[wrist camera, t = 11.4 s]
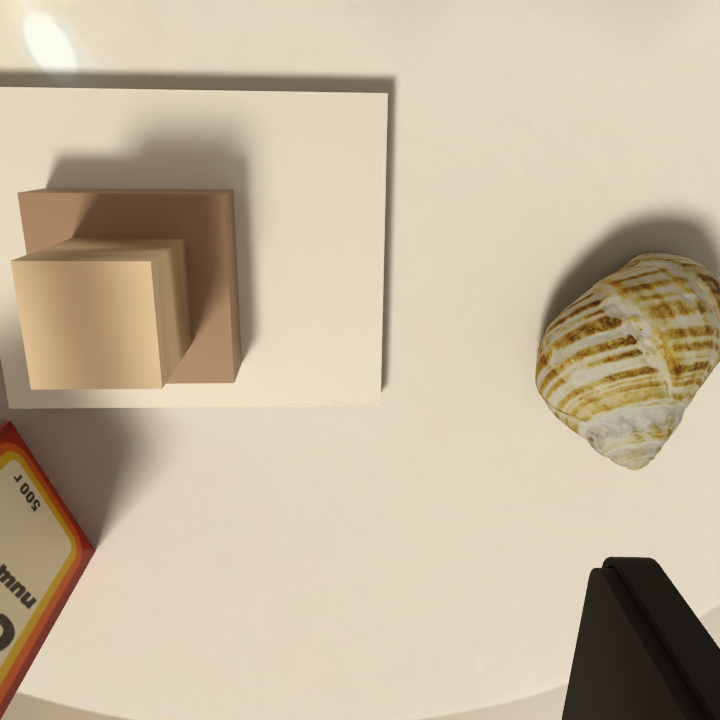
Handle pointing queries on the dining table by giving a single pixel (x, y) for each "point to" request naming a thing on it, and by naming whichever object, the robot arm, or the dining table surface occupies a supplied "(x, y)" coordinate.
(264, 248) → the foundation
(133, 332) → the oak block
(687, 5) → the dining table surface
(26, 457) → the baking soda box
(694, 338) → the seashell
